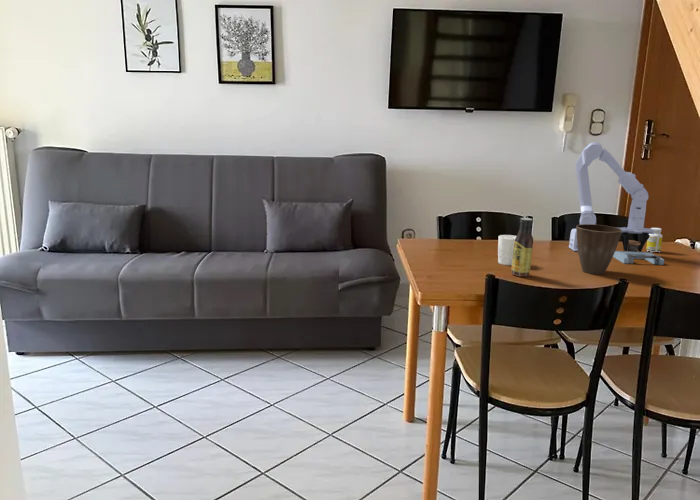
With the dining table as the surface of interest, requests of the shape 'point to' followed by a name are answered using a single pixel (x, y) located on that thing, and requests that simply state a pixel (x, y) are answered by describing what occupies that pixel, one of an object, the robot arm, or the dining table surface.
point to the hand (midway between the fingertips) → (632, 250)
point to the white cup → (505, 249)
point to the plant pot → (596, 246)
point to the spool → (633, 245)
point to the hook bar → (643, 257)
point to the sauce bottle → (523, 249)
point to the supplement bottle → (654, 241)
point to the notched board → (623, 258)
